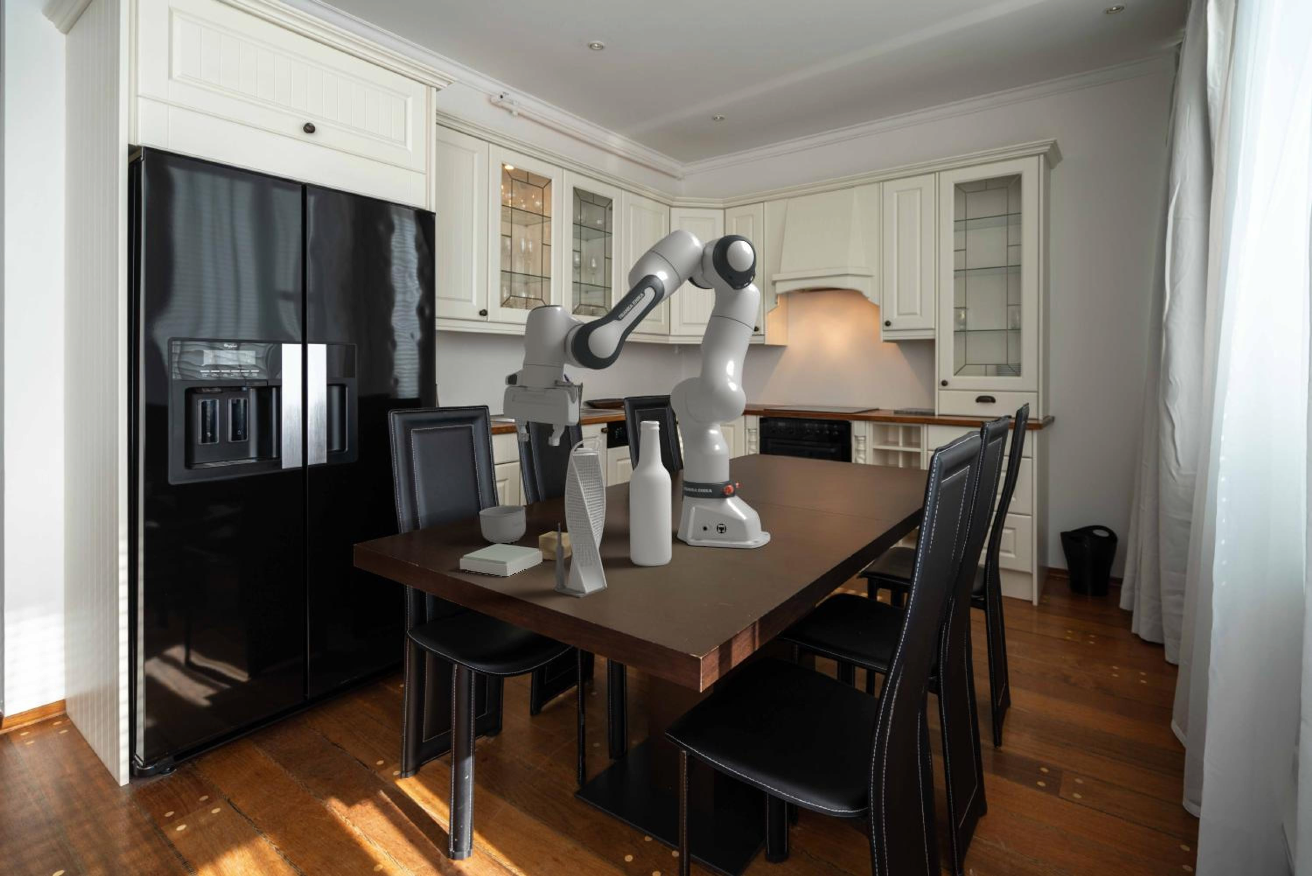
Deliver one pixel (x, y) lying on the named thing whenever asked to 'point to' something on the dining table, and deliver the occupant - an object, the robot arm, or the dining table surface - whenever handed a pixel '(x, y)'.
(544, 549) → the oak cube
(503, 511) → the teacup
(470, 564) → the stand
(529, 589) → the dining table surface
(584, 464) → the skyscraper
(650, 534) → the alcohol
